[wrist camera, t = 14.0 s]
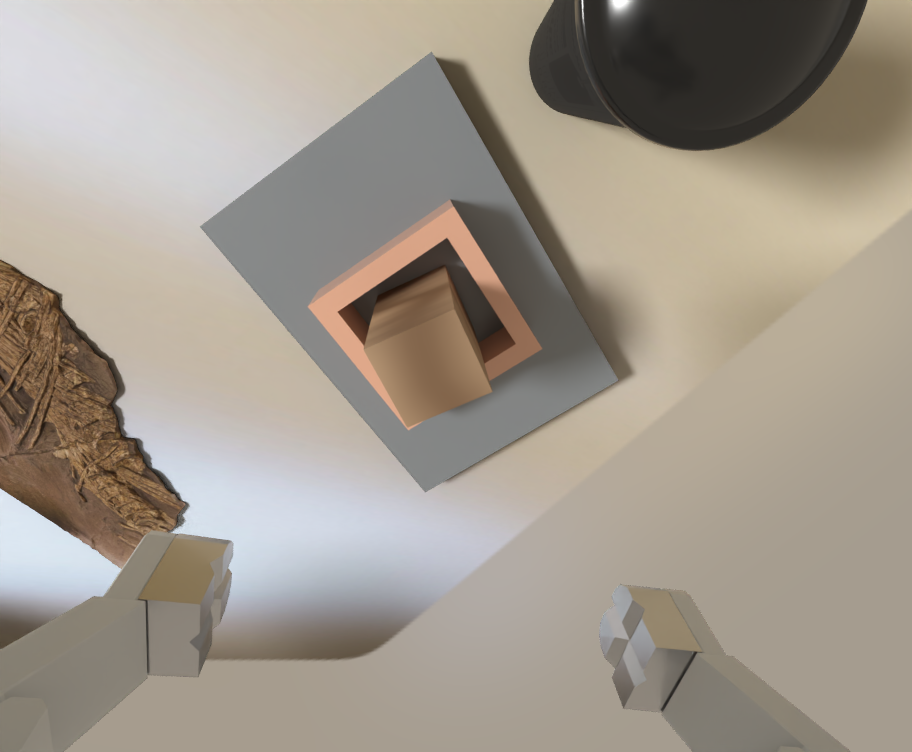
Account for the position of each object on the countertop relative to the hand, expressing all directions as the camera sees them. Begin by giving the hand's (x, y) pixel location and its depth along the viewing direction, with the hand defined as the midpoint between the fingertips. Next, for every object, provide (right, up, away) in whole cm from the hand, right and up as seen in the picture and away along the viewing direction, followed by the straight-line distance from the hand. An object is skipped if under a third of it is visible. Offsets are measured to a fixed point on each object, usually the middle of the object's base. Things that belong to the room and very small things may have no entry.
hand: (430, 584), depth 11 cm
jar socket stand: (-1, +9, +19) cm, 21 cm away
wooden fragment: (-25, +3, +21) cm, 32 cm away
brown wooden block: (-1, +8, +18) cm, 20 cm away
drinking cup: (+6, +20, +15) cm, 26 cm away
